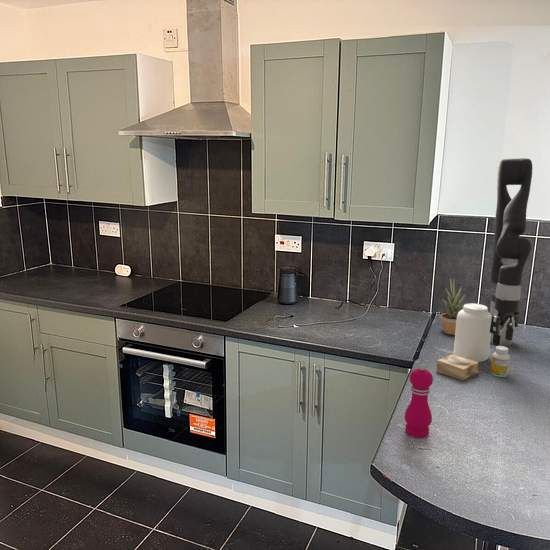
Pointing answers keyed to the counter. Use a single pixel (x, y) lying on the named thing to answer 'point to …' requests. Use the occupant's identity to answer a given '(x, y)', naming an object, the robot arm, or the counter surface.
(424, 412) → the pepper mill
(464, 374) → the pedestal
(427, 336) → the counter surface
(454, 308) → the potted plant
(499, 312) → the robot arm
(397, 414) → the counter surface
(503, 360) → the supplement bottle
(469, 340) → the white jar
